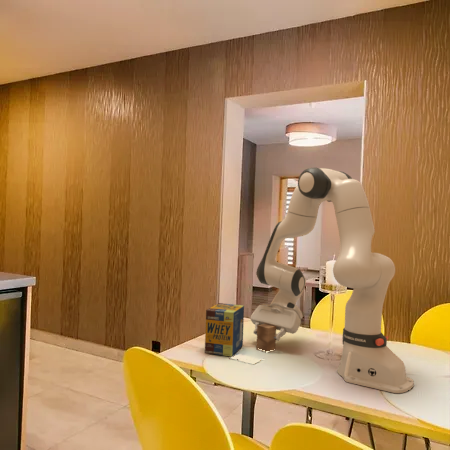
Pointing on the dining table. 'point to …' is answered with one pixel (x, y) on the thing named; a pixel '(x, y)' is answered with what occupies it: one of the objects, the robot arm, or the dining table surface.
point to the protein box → (224, 329)
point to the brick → (266, 337)
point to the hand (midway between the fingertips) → (265, 336)
